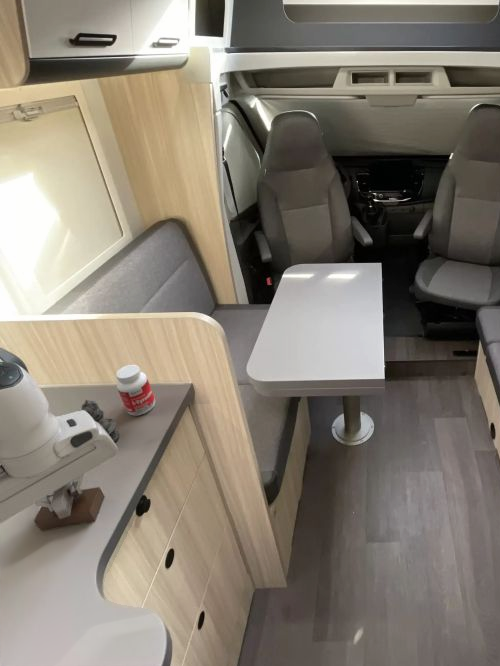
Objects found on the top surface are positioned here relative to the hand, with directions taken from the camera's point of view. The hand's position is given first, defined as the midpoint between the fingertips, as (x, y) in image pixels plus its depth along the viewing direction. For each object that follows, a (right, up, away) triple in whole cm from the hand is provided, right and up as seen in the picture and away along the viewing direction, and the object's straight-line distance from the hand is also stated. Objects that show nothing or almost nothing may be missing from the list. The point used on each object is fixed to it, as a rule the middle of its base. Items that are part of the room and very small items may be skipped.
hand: (66, 500), depth 79 cm
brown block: (0, -3, +2) cm, 4 cm away
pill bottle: (0, +10, +25) cm, 27 cm away
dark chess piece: (-3, +5, +16) cm, 17 cm away
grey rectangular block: (0, -1, 0) cm, 1 cm away
